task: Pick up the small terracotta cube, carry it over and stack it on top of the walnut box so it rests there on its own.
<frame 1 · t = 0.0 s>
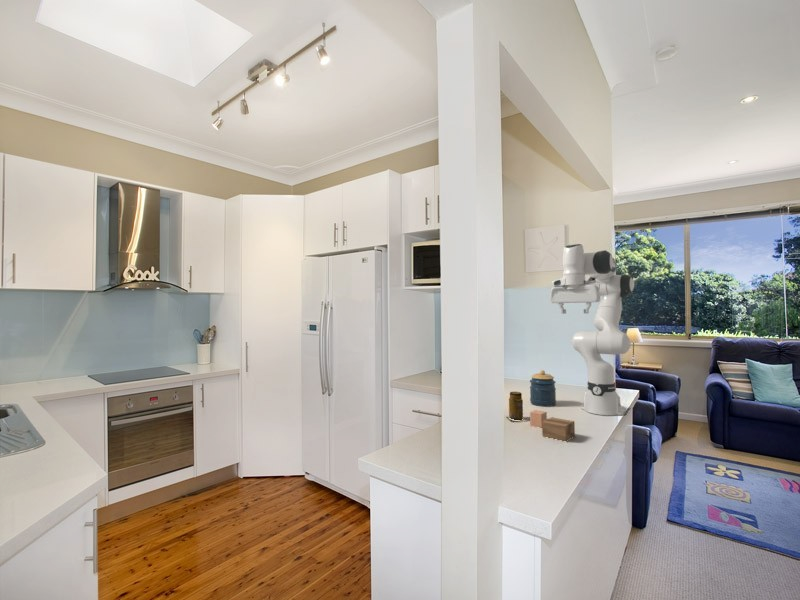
hand: (574, 313, 168), 48 cm above the counter, tool pointing down, fingers open, 8 cm apart
canister: (543, 404, 206), on the counter
terracotta cube: (538, 426, 167), on the counter
walnut box: (558, 436, 153), on the counter
condiment: (516, 419, 178), on the counter
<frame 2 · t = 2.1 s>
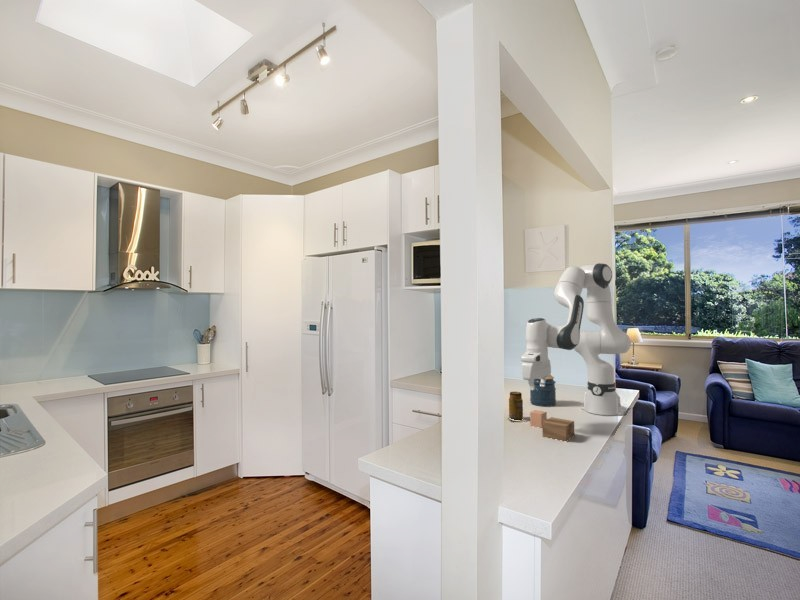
hand: (537, 388, 168), 16 cm above the counter, tool pointing down, fingers open, 8 cm apart
nothing on the counter moved.
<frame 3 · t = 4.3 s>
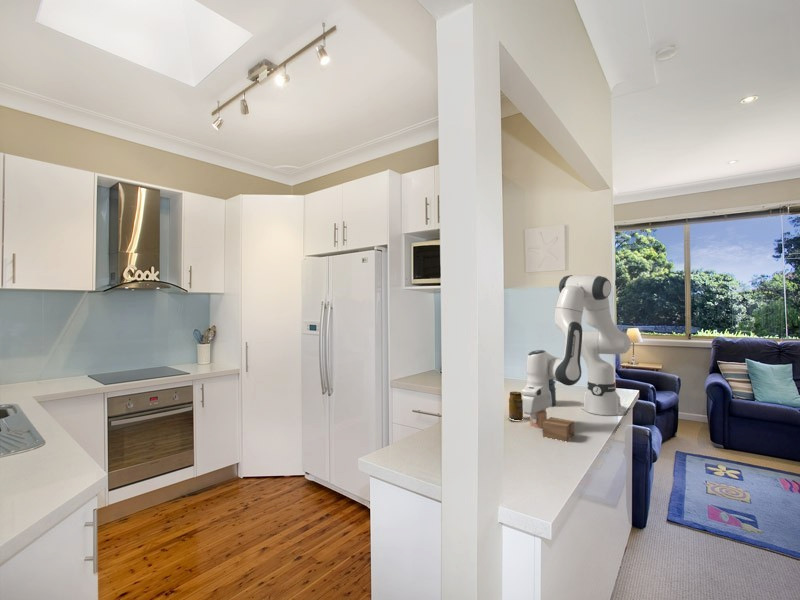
hand: (538, 420, 167), 2 cm above the counter, tool pointing down, fingers closed on terracotta cube, 5 cm apart
terracotta cube: (538, 425, 167), on the counter, touching gripper
everything else where it was.
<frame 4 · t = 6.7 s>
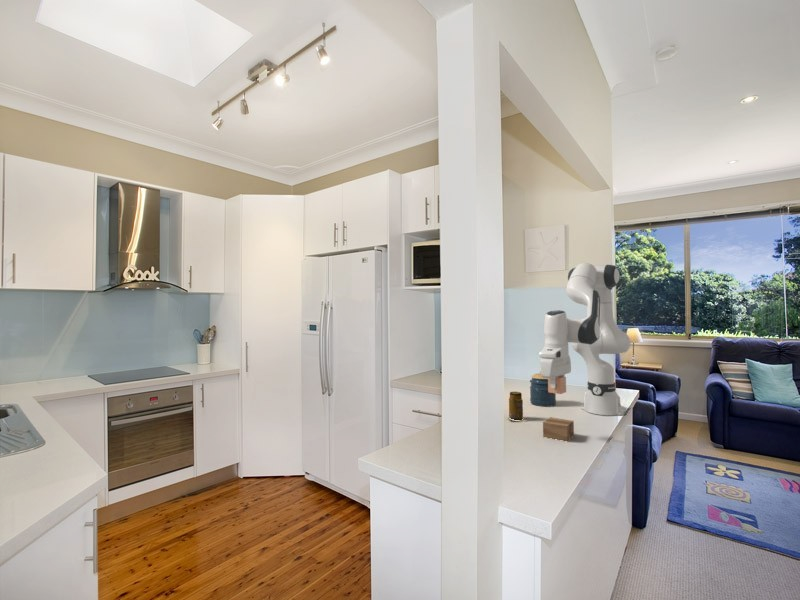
hand: (557, 386, 154), 19 cm above the counter, tool pointing down, fingers closed on terracotta cube, 5 cm apart
terracotta cube: (557, 392, 154), point 17 cm above the counter, touching gripper
everything else where it was.
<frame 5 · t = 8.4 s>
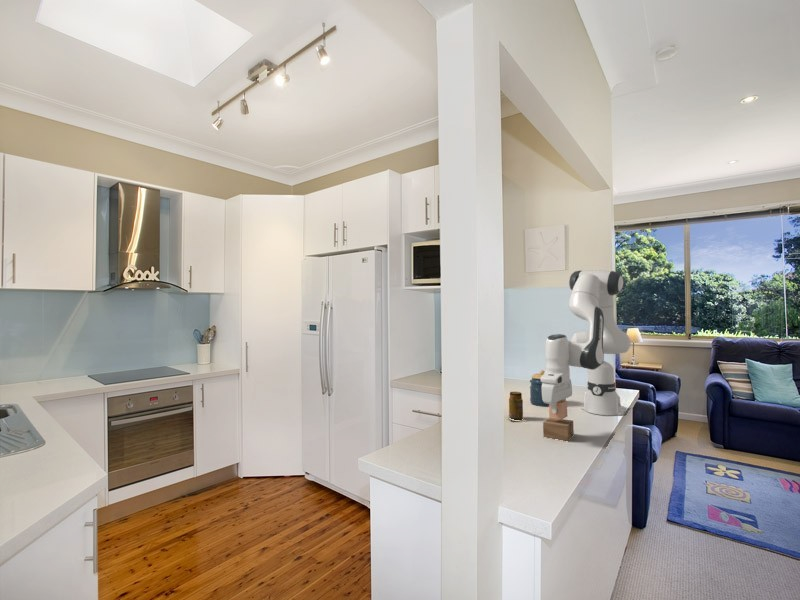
hand: (558, 411, 153), 10 cm above the counter, tool pointing down, fingers closed on terracotta cube, 5 cm apart
terracotta cube: (558, 416, 153), point 8 cm above the counter, touching gripper
everything else where it was.
when the fingers open (9 cm above the counter, at t = 9.4 s): terracotta cube drops 1 cm, point 6 cm above the counter.
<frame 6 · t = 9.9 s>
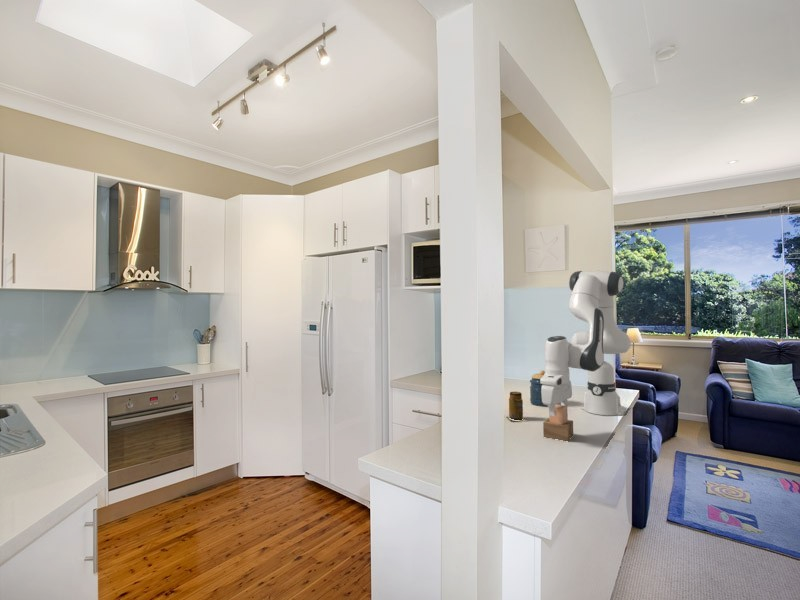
hand: (558, 413, 154), 9 cm above the counter, tool pointing down, fingers open, 8 cm apart
terracotta cube: (558, 421, 153), point 6 cm above the counter
everything else where it was.
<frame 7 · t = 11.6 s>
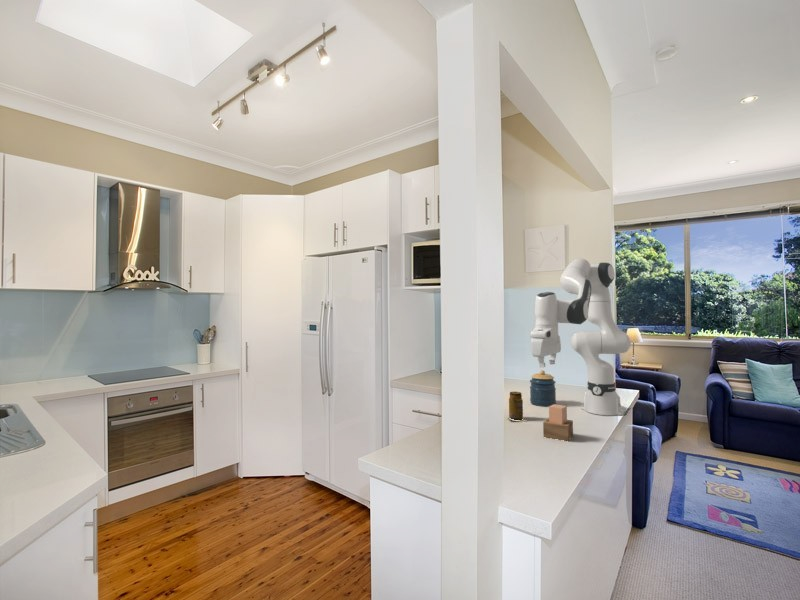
hand: (547, 365, 160), 27 cm above the counter, tool pointing down, fingers open, 8 cm apart
terracotta cube: (558, 421, 153), point 6 cm above the counter, touching walnut box
walnut box: (558, 436, 153), on the counter, touching terracotta cube
everything else where it was.
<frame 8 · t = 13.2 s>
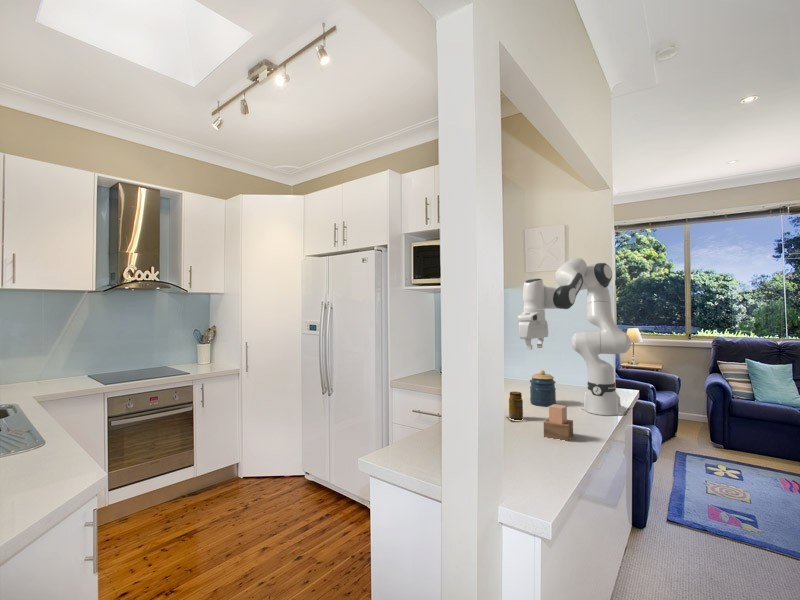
hand: (534, 348, 167), 33 cm above the counter, tool pointing down, fingers open, 8 cm apart
nothing on the counter moved.
at the end: terracotta cube 0.4 cm off-centre on the walnut box, point 6.0 cm above the walnut box's base; terracotta cube tilted 0°; the gripper is holding nothing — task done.
